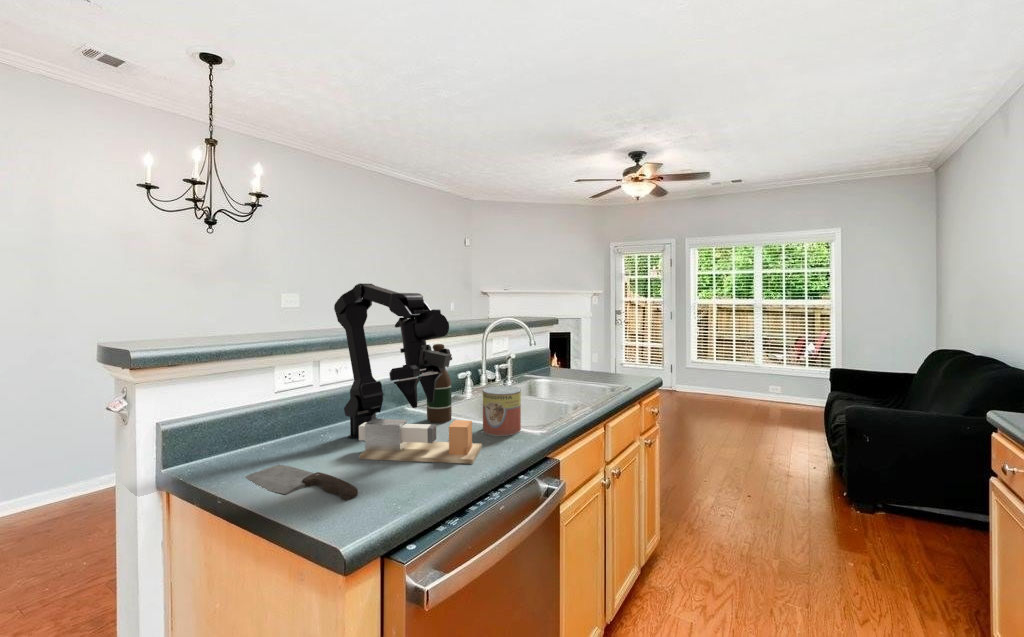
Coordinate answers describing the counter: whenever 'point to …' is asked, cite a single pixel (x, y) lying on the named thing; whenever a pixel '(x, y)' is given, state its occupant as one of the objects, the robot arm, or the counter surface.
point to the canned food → (501, 410)
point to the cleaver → (300, 481)
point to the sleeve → (384, 435)
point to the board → (425, 453)
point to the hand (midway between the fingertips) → (423, 404)
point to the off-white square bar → (410, 432)
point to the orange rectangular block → (460, 437)
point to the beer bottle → (440, 397)
